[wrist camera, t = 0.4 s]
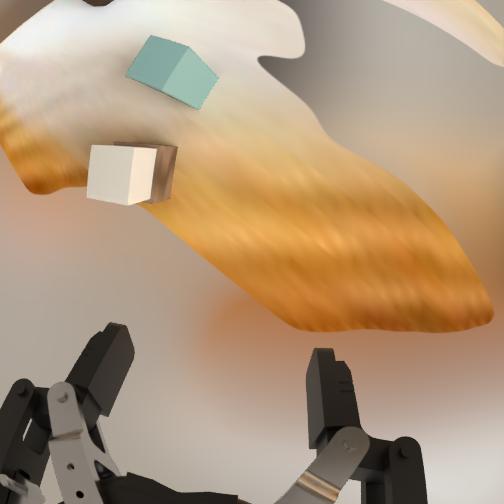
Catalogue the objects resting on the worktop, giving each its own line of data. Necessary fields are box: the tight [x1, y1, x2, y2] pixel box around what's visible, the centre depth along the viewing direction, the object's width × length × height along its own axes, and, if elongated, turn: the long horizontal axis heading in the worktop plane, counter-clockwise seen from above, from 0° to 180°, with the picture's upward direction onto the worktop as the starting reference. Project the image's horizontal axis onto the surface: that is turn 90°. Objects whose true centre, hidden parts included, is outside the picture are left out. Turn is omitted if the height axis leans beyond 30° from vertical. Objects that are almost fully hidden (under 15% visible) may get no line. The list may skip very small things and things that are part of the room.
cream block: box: [87, 145, 157, 205], centre depth 28 cm, size 6×6×5 cm
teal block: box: [125, 35, 219, 110], centre depth 25 cm, size 5×5×11 cm
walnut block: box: [114, 142, 178, 204], centre depth 32 cm, size 7×7×5 cm
